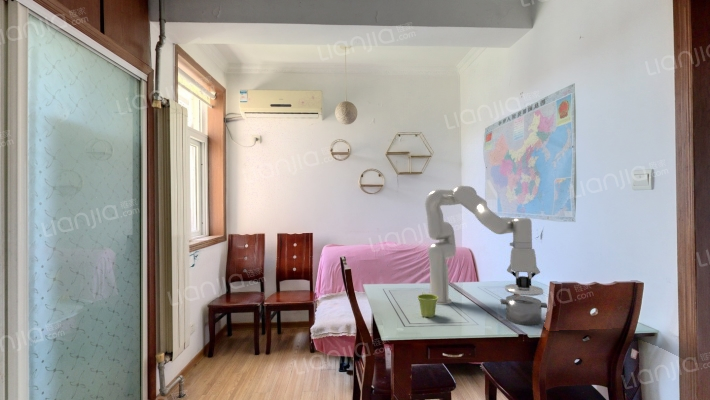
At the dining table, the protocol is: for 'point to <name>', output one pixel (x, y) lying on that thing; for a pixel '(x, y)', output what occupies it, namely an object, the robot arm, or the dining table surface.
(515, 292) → the lid
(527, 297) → the pot
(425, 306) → the plant pot
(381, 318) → the dining table surface
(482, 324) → the dining table surface
